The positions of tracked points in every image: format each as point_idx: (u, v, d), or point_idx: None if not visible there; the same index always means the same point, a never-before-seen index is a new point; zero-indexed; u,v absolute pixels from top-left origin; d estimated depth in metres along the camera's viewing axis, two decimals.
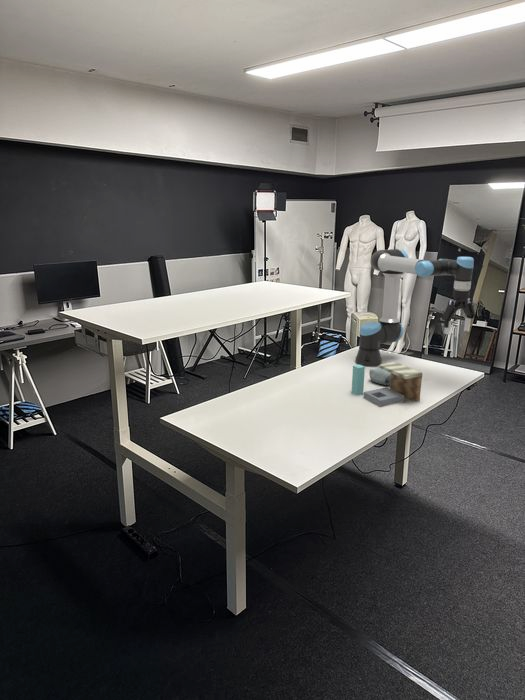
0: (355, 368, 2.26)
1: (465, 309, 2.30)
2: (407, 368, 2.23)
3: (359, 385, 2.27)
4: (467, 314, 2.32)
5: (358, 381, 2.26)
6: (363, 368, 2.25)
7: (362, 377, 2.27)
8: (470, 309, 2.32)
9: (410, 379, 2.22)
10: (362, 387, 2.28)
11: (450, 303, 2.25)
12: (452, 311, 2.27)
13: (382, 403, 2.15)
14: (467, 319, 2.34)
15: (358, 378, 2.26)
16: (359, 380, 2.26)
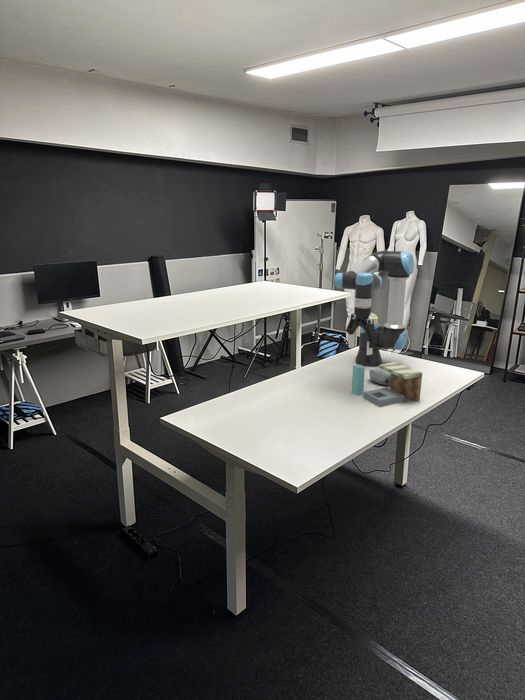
0: (355, 368, 2.26)
1: None
2: (407, 368, 2.23)
3: (359, 385, 2.27)
4: None
5: (357, 381, 2.26)
6: (363, 368, 2.25)
7: (362, 377, 2.27)
8: None
9: (410, 379, 2.22)
10: (362, 387, 2.28)
11: None
12: None
13: (382, 403, 2.15)
14: None
15: (358, 378, 2.26)
16: (359, 380, 2.26)
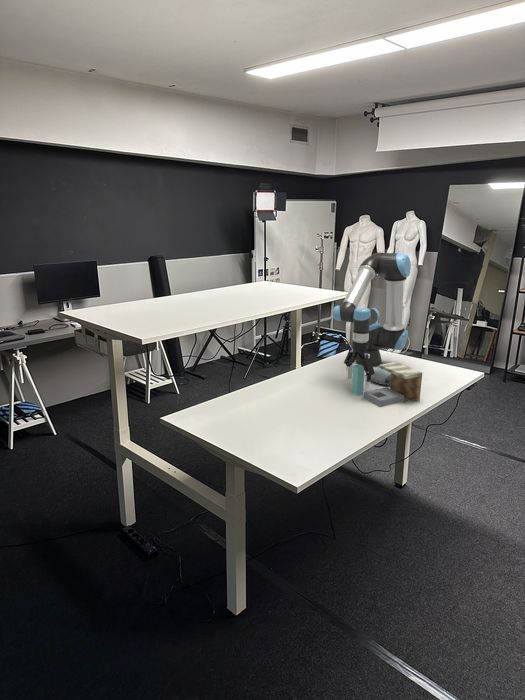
0: (355, 368, 2.26)
1: None
2: (407, 368, 2.23)
3: (359, 385, 2.27)
4: None
5: (357, 381, 2.26)
6: (363, 368, 2.25)
7: (362, 377, 2.27)
8: None
9: (410, 379, 2.22)
10: (362, 387, 2.28)
11: None
12: None
13: (382, 403, 2.15)
14: None
15: (358, 378, 2.26)
16: (359, 380, 2.26)
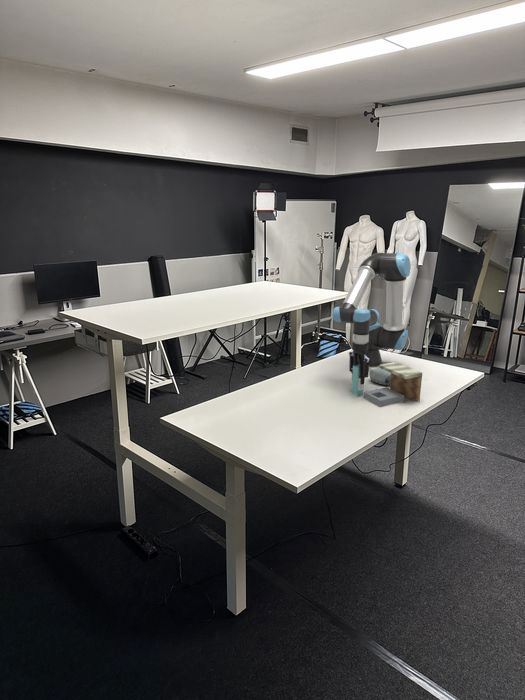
0: (355, 368, 2.26)
1: None
2: (407, 368, 2.23)
3: None
4: None
5: (357, 381, 2.26)
6: None
7: None
8: None
9: (410, 379, 2.22)
10: None
11: None
12: None
13: (382, 403, 2.15)
14: None
15: (358, 378, 2.26)
16: None
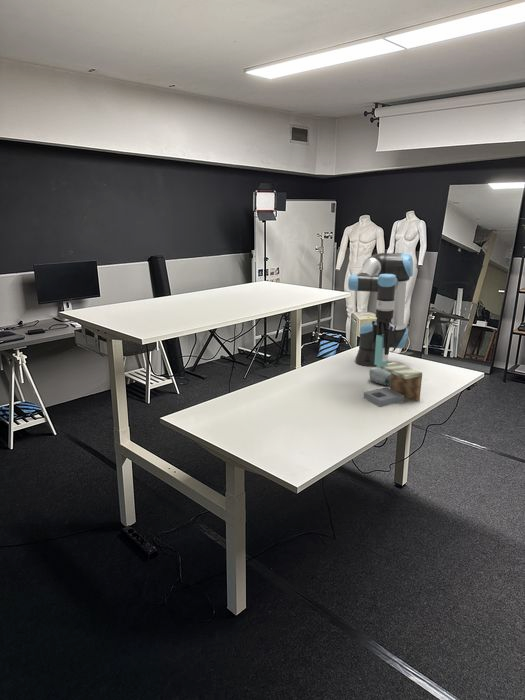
0: (379, 337, 2.12)
1: None
2: (407, 368, 2.23)
3: None
4: None
5: (381, 351, 2.12)
6: None
7: None
8: None
9: (410, 379, 2.22)
10: None
11: None
12: None
13: (382, 403, 2.15)
14: None
15: (382, 349, 2.12)
16: None
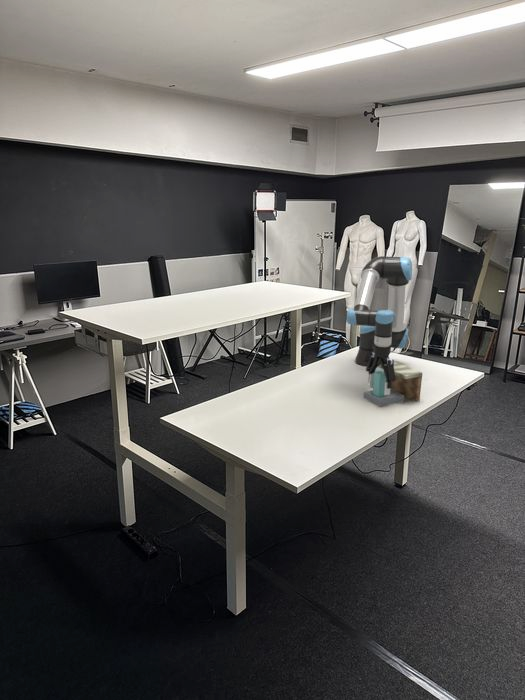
0: (377, 375, 2.17)
1: None
2: (407, 368, 2.23)
3: (380, 392, 2.18)
4: None
5: (379, 388, 2.17)
6: None
7: (384, 384, 2.18)
8: None
9: (410, 379, 2.22)
10: (383, 394, 2.19)
11: None
12: None
13: (382, 403, 2.15)
14: None
15: (379, 385, 2.17)
16: (380, 387, 2.17)
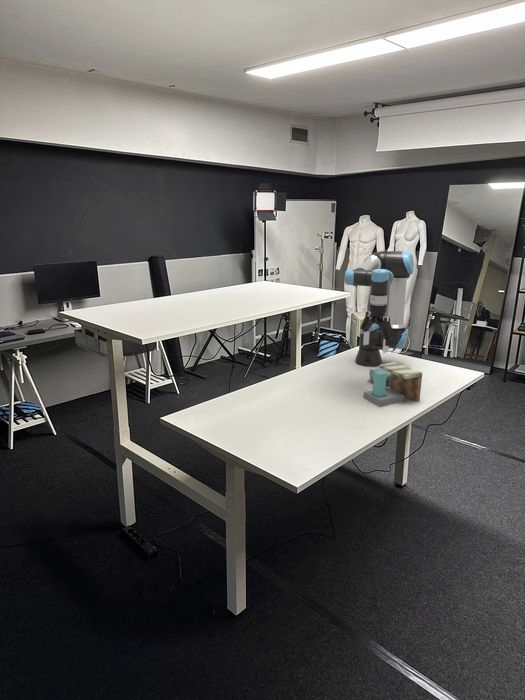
0: (376, 374, 2.17)
1: None
2: (407, 368, 2.23)
3: (380, 392, 2.18)
4: None
5: (379, 388, 2.17)
6: (385, 374, 2.16)
7: (384, 384, 2.18)
8: None
9: (410, 379, 2.22)
10: (383, 394, 2.19)
11: None
12: None
13: (382, 403, 2.15)
14: None
15: (379, 385, 2.17)
16: (380, 387, 2.17)
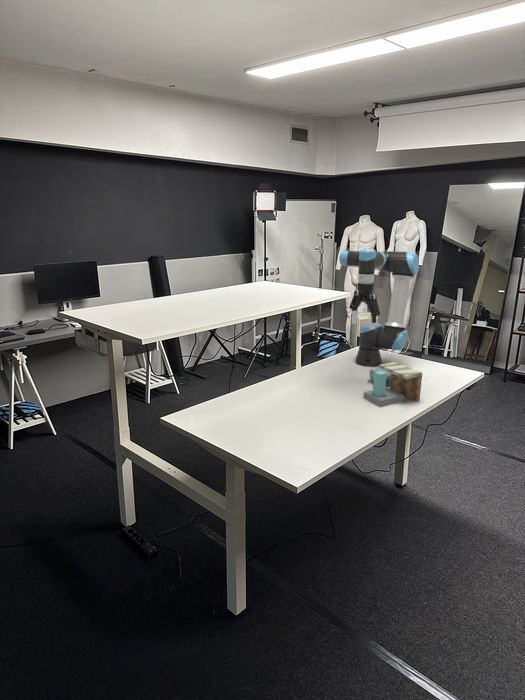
0: (376, 374, 2.17)
1: None
2: (407, 368, 2.23)
3: (380, 392, 2.18)
4: None
5: (379, 388, 2.17)
6: (385, 374, 2.16)
7: (384, 384, 2.18)
8: None
9: (410, 379, 2.22)
10: (383, 394, 2.19)
11: None
12: None
13: (382, 403, 2.15)
14: None
15: (379, 385, 2.17)
16: (380, 387, 2.17)
